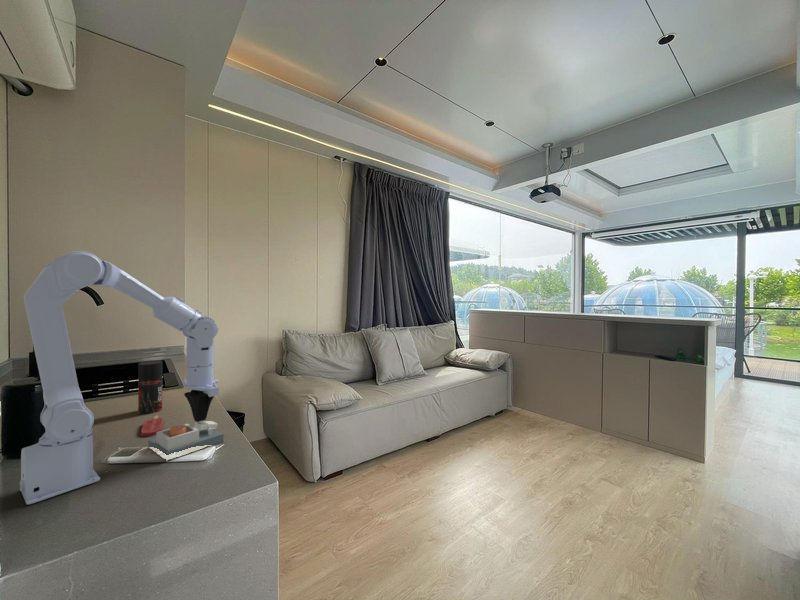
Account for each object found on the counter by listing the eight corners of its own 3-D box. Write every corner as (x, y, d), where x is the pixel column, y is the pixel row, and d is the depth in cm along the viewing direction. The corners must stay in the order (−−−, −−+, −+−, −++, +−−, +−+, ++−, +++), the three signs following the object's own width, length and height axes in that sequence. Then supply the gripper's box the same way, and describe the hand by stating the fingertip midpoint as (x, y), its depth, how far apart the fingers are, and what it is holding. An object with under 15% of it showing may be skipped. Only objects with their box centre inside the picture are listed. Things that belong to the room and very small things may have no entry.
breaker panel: (166, 461, 71) (166, 441, 71) (148, 447, 78) (148, 428, 77) (223, 442, 81) (223, 423, 81) (202, 431, 87) (202, 414, 87)
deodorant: (159, 412, 101) (159, 363, 101) (135, 415, 99) (135, 365, 98) (164, 406, 106) (164, 360, 106) (142, 408, 104) (142, 361, 104)
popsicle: (165, 411, 98) (160, 430, 85) (165, 417, 98) (160, 436, 85) (146, 414, 96) (138, 433, 83) (146, 420, 96) (138, 440, 83)
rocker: (200, 430, 79) (201, 424, 79) (193, 426, 81) (195, 421, 81) (217, 429, 82) (218, 423, 82) (210, 425, 84) (211, 420, 85)
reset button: (172, 444, 74) (172, 431, 74) (167, 441, 76) (167, 428, 76) (188, 439, 77) (188, 427, 77) (182, 436, 79) (182, 423, 79)
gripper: (231, 366, 80) (231, 421, 80) (203, 359, 88) (203, 409, 88) (200, 371, 74) (200, 431, 74) (173, 363, 82) (173, 417, 82)
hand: (200, 420), depth 81 cm, fingers closed
